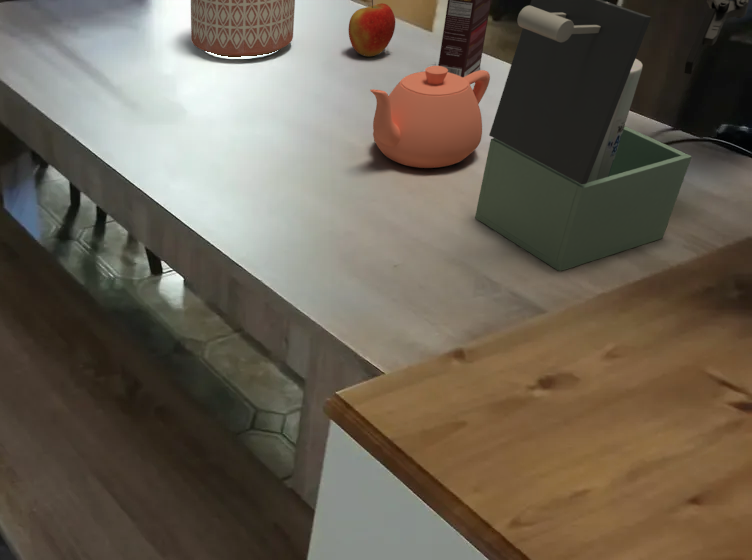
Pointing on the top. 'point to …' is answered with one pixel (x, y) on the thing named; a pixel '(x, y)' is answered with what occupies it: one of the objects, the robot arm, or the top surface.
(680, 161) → the green open box
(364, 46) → the apple
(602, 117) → the lid
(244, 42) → the planter
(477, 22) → the supplement box
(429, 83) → the teapot
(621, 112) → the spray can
